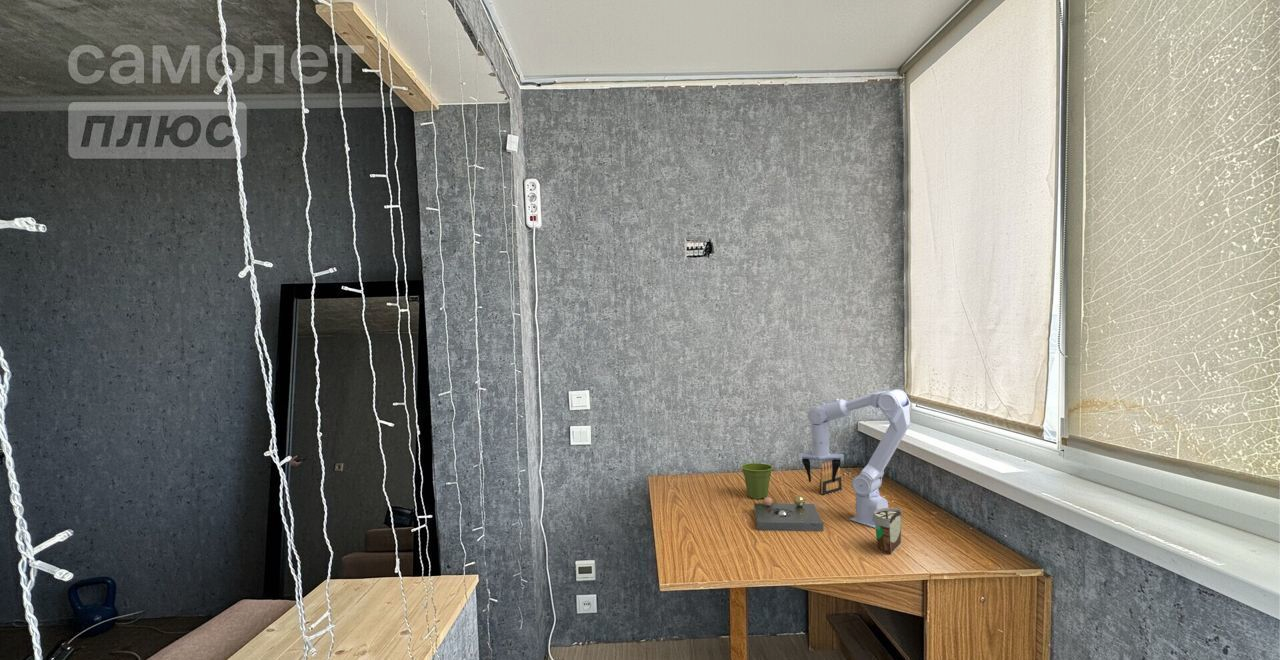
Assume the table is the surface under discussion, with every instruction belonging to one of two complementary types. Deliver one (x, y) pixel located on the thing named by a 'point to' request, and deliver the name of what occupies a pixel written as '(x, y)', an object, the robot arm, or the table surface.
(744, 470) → the plant pot
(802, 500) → the brass ball
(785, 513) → the steel ball
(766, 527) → the hole plate
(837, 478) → the ammunition clip
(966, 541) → the table surface
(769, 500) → the terracotta ball
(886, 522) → the food container
